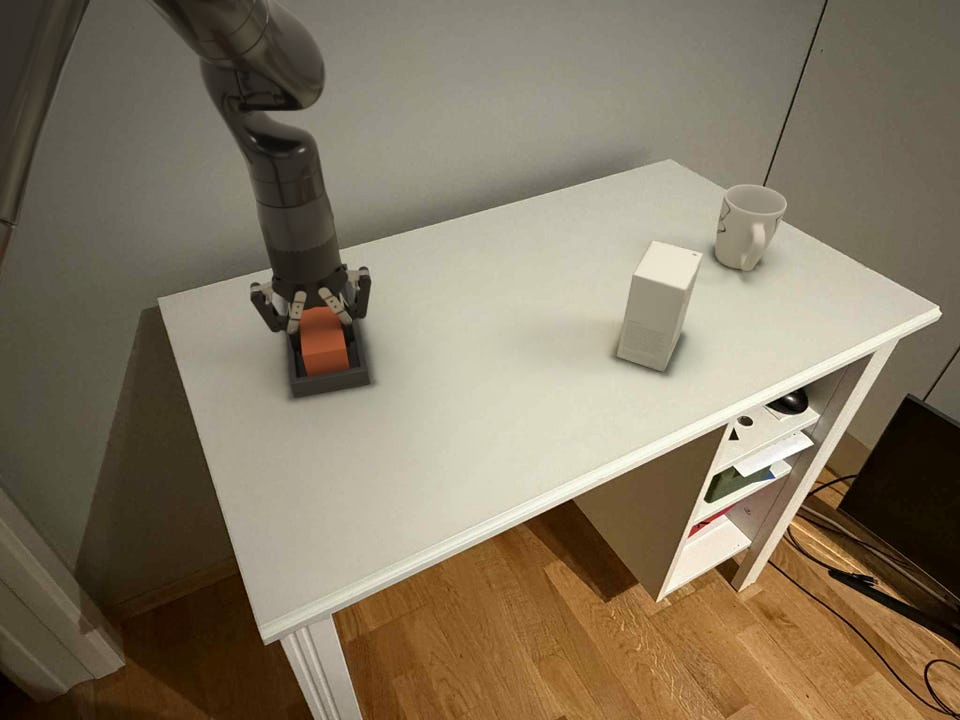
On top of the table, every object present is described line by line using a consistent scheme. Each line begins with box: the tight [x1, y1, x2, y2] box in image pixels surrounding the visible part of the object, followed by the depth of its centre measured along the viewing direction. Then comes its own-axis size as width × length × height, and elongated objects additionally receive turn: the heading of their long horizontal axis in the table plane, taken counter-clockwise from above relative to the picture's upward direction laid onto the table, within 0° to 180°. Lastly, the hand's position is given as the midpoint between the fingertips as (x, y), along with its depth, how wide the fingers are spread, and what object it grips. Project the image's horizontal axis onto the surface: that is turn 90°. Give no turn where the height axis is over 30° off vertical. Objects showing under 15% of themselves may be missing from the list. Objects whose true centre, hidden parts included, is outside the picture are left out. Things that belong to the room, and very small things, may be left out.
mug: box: [714, 183, 788, 272], centre depth 92 cm, size 11×8×10 cm
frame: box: [283, 262, 371, 399], centre depth 84 cm, size 23×9×2 cm, turn 15°
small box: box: [616, 240, 704, 372], centre depth 78 cm, size 8×6×13 cm
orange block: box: [299, 306, 349, 376], centre depth 79 cm, size 9×5×4 cm, turn 15°
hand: (325, 346), depth 80 cm, fingers closed on orange block, 5 cm apart
